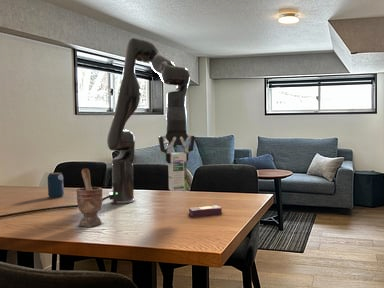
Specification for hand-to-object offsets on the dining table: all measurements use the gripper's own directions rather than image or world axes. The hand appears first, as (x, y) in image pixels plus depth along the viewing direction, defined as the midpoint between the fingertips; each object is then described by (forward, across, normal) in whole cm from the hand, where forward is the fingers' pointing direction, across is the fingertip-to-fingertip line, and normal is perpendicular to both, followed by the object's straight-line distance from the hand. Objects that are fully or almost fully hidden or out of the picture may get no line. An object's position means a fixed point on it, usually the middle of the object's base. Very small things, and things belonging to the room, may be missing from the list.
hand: (177, 162), depth 148 cm
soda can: (+22, +45, -68) cm, 84 cm away
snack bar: (+21, -11, 0) cm, 24 cm away
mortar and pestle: (+22, +32, -5) cm, 39 cm away
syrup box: (+11, 0, 0) cm, 11 cm away
